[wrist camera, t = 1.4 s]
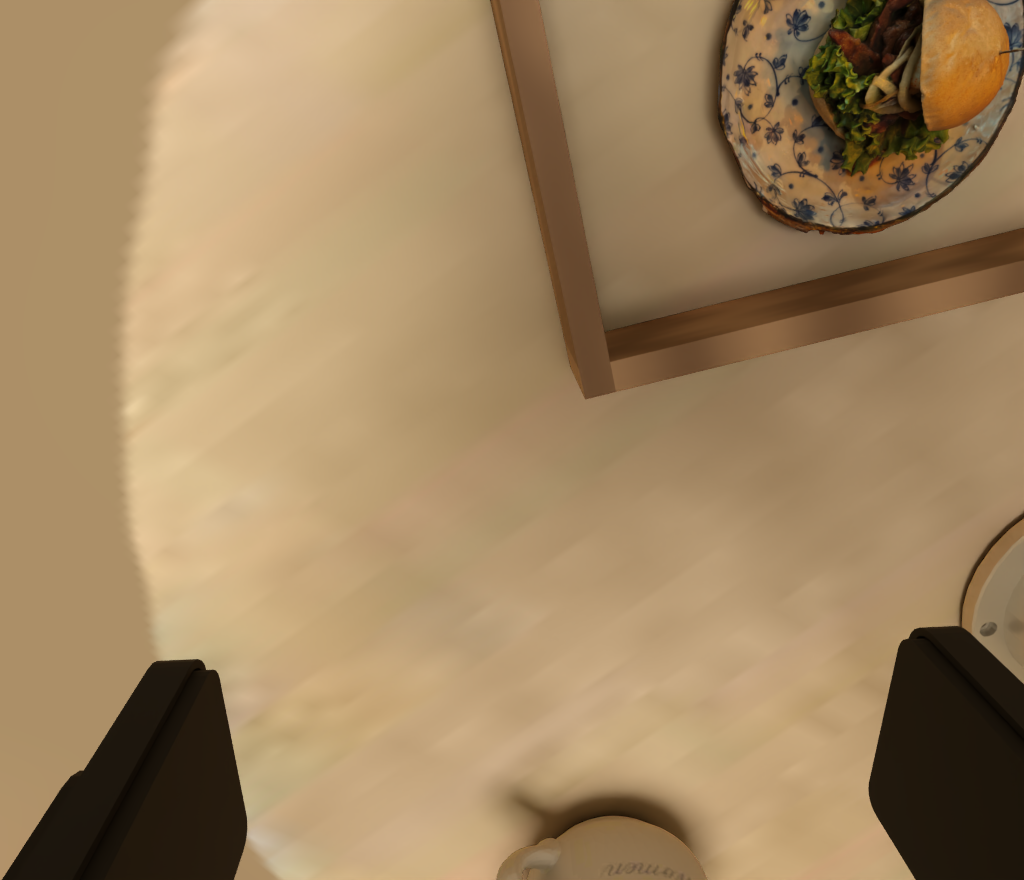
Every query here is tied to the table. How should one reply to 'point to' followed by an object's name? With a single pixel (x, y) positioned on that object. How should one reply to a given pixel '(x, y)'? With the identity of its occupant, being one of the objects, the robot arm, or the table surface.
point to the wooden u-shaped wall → (729, 325)
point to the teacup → (606, 854)
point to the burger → (865, 103)
